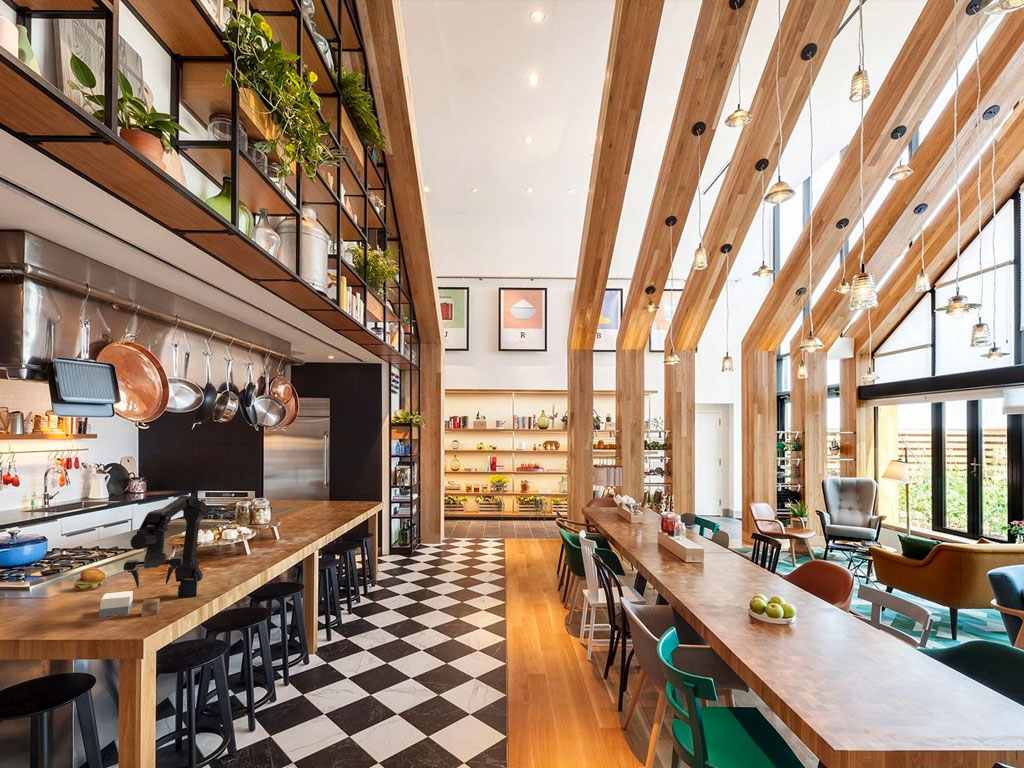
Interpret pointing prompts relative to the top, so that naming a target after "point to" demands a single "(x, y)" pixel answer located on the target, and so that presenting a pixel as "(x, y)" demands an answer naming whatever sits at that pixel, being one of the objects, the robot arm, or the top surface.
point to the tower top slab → (116, 600)
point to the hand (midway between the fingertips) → (152, 585)
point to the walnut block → (150, 607)
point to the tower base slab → (114, 611)
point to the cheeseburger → (89, 579)
